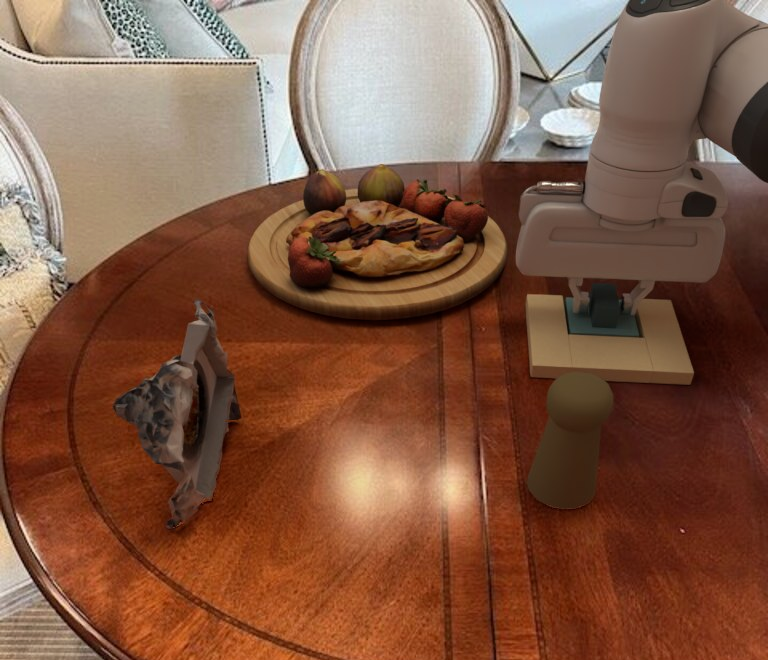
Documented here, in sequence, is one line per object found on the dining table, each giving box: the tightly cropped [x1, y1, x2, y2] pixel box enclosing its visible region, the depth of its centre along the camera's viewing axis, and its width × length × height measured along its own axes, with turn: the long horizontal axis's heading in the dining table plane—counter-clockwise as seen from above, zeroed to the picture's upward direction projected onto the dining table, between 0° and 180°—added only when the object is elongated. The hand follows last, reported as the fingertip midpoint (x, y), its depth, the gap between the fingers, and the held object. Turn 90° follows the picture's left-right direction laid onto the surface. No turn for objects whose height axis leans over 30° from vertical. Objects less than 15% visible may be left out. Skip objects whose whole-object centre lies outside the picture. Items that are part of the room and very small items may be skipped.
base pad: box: [525, 293, 695, 386], centre depth 84 cm, size 16×14×2 cm
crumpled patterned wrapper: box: [112, 298, 242, 531], centre depth 65 cm, size 15×4×13 cm, turn 174°
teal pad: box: [564, 282, 639, 338], centre depth 85 cm, size 7×7×4 cm
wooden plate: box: [246, 163, 508, 321], centre depth 95 cm, size 32×32×8 cm
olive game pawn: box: [526, 372, 614, 509], centre depth 65 cm, size 6×6×11 cm
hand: (603, 311), depth 85 cm, fingers open, 4 cm apart
